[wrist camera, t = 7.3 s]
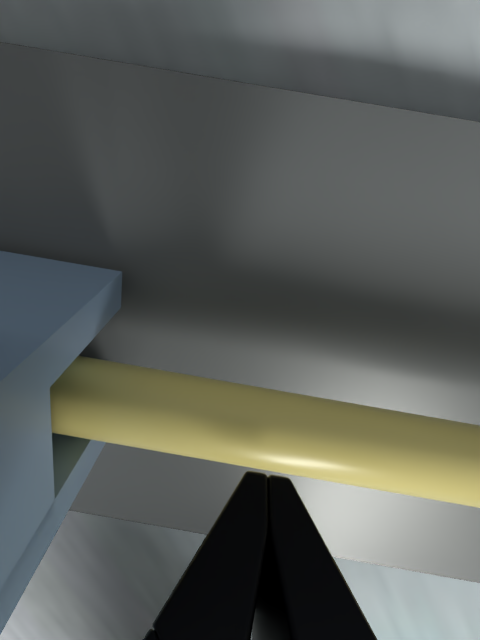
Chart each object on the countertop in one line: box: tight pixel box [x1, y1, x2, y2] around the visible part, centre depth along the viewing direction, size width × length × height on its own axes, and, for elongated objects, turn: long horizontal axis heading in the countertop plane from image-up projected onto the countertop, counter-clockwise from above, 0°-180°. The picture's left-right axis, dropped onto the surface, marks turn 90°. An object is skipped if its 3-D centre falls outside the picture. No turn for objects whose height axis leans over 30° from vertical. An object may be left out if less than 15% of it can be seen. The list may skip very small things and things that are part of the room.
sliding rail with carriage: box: [0, 42, 480, 583], centre depth 10 cm, size 14×26×6 cm, turn 81°
